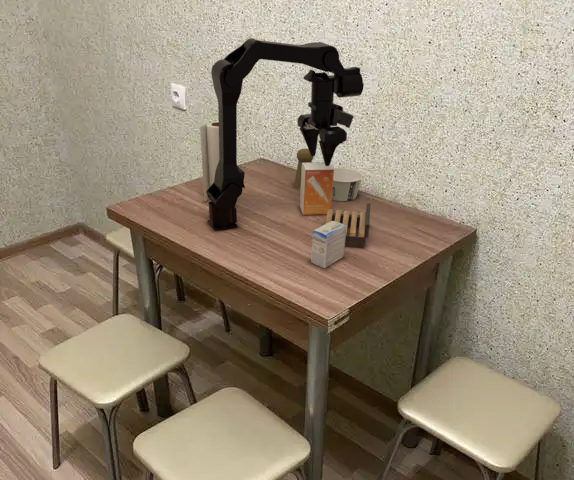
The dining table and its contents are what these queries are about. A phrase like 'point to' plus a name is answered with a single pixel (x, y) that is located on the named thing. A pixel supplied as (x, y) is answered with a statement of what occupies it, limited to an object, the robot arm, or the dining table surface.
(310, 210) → the small box
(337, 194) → the food container
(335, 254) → the medicine box
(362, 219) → the rack
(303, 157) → the brown pawn figure
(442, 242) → the dining table surface
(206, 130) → the paper towel roll
